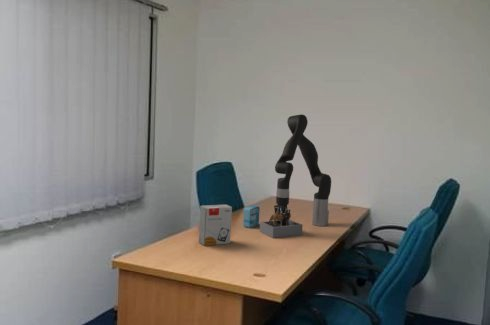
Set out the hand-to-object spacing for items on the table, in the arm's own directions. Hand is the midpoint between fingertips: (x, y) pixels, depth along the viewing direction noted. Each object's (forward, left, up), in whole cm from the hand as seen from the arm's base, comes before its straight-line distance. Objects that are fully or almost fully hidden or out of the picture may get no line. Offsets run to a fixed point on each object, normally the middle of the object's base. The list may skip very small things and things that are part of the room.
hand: (281, 224), depth 272 cm
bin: (0, 0, -5) cm, 5 cm away
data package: (+8, -21, -6) cm, 23 cm away
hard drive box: (+45, +4, -6) cm, 46 cm away
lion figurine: (+2, 0, -1) cm, 2 cm away
